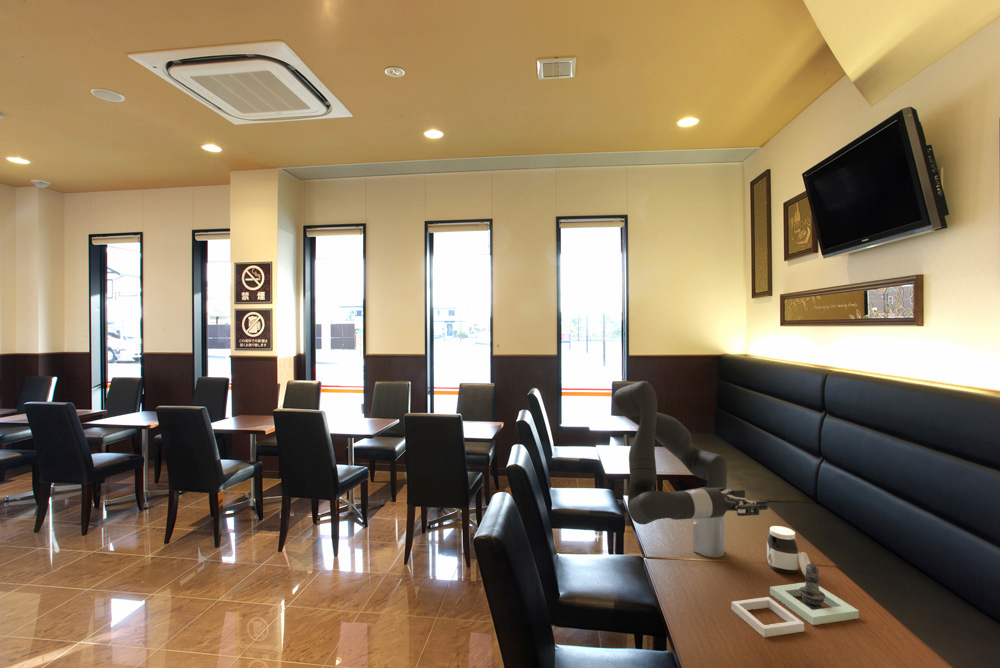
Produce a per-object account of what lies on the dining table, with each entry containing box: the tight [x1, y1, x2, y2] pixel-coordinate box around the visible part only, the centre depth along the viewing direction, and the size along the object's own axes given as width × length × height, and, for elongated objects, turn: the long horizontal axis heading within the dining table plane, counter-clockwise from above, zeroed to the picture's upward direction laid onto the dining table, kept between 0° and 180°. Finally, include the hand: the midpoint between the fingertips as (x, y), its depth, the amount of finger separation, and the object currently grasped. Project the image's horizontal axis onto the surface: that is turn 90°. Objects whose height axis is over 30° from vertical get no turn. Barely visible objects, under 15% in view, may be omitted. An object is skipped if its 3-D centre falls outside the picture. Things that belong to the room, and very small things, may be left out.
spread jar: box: [766, 525, 811, 577], centre depth 142 cm, size 12×11×12 cm
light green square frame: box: [769, 581, 860, 626], centre depth 124 cm, size 14×14×2 cm
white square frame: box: [730, 596, 805, 638], centre depth 118 cm, size 11×11×2 cm
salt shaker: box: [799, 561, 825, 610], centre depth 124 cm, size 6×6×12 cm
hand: (755, 498), depth 126 cm, fingers open, 8 cm apart
